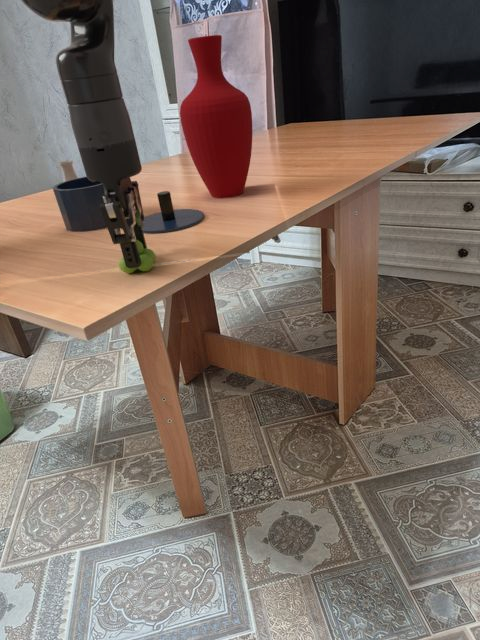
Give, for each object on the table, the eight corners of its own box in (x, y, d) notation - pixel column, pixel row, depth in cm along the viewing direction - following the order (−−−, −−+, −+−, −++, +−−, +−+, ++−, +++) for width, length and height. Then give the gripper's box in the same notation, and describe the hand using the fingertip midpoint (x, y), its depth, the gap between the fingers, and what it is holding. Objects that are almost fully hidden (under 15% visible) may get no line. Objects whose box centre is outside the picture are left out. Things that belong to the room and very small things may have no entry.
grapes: (120, 276, 70) (109, 237, 67) (127, 264, 74) (116, 226, 71) (153, 273, 70) (143, 233, 66) (158, 260, 74) (149, 222, 71)
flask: (91, 199, 118) (79, 157, 113) (95, 204, 112) (82, 160, 107) (62, 205, 116) (48, 162, 110) (64, 211, 110) (50, 166, 105)
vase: (209, 189, 113) (185, 41, 97) (268, 186, 108) (252, 31, 93) (184, 207, 101) (152, 42, 85) (249, 204, 97) (227, 30, 81)
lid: (128, 240, 85) (119, 206, 82) (141, 219, 96) (134, 188, 93) (202, 231, 85) (196, 197, 81) (207, 211, 96) (201, 180, 93)
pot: (58, 237, 91) (43, 193, 87) (77, 219, 102) (64, 179, 98) (121, 229, 91) (109, 185, 87) (133, 212, 102) (123, 171, 97)
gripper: (92, 135, 68) (123, 247, 77) (60, 151, 56) (101, 281, 65) (142, 129, 68) (168, 241, 77) (122, 143, 56) (155, 275, 65)
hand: (137, 259), depth 71 cm, fingers closed on grapes, 5 cm apart
